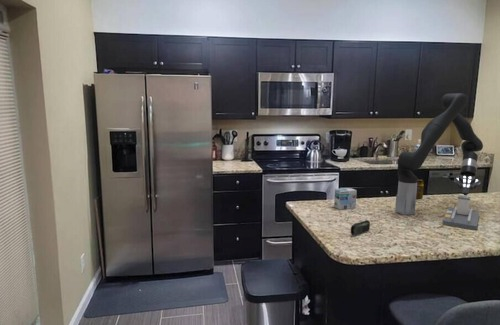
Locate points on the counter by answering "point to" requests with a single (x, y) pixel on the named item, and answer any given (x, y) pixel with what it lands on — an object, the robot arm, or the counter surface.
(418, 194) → the condiment
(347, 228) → the counter surface
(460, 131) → the robot arm
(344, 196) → the light bulb box
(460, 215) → the switch board
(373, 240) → the counter surface
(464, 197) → the slider tab
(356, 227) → the mobile phone
